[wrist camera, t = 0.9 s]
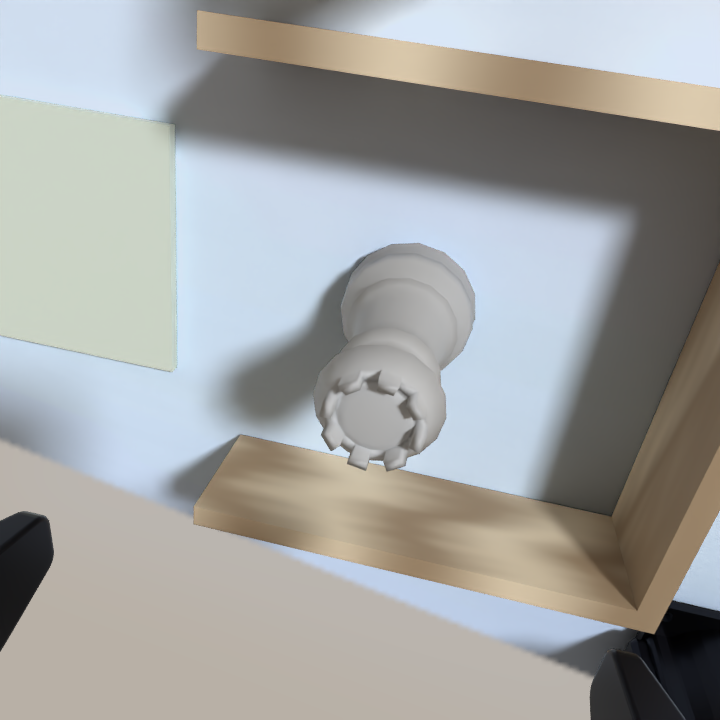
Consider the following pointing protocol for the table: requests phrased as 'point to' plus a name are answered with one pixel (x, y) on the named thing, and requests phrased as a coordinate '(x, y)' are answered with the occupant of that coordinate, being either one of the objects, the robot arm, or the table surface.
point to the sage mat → (88, 232)
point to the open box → (469, 503)
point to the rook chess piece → (394, 354)
